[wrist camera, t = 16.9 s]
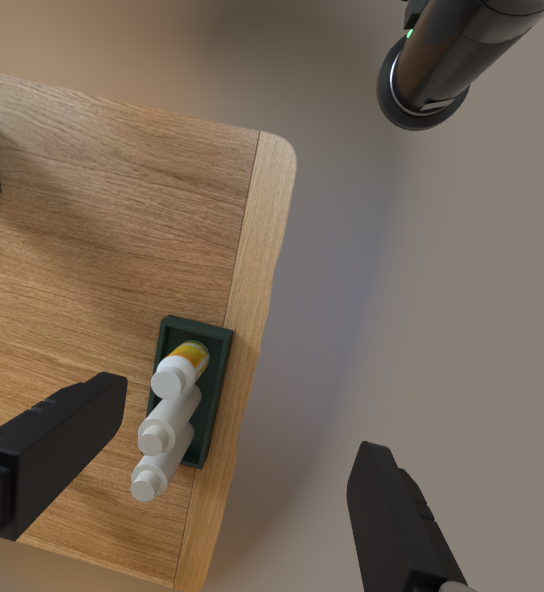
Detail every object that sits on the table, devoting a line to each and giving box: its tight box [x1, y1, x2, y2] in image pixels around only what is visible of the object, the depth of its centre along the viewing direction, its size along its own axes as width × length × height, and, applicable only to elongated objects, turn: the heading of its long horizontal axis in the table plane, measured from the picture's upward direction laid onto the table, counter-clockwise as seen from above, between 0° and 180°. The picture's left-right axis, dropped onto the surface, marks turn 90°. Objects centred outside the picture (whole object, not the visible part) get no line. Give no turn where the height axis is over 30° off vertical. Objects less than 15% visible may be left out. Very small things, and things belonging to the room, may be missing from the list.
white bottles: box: [131, 384, 202, 502], centre depth 40 cm, size 12×5×12 cm, turn 167°
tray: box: [141, 315, 234, 470], centre depth 45 cm, size 24×11×3 cm, turn 167°
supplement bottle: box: [151, 340, 210, 399], centre depth 39 cm, size 5×5×10 cm
